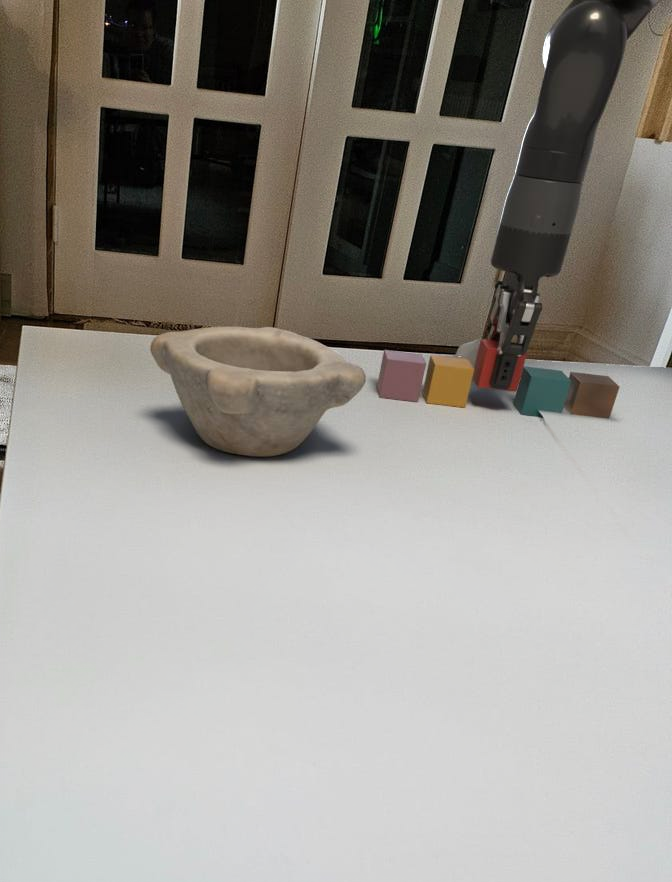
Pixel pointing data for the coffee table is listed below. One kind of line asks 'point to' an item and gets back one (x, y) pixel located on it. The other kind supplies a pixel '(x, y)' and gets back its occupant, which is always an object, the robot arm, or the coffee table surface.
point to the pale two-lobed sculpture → (468, 351)
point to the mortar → (255, 385)
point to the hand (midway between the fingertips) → (494, 381)
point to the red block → (486, 365)
